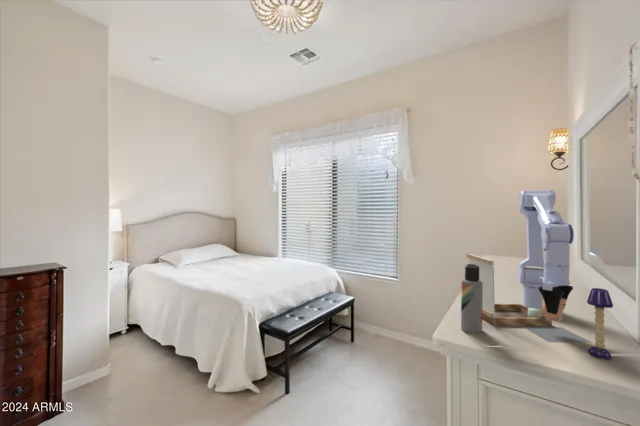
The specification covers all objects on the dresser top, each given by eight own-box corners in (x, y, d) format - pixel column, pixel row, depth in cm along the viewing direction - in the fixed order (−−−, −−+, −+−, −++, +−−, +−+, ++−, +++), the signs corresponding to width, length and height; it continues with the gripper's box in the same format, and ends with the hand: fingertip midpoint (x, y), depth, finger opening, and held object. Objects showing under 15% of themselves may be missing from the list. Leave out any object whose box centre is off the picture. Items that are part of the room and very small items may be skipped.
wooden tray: (520, 311, 102) (520, 303, 102) (551, 326, 88) (552, 318, 88) (470, 310, 102) (470, 303, 102) (494, 326, 88) (494, 318, 88)
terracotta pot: (543, 311, 87) (546, 292, 86) (565, 319, 82) (569, 299, 82) (536, 314, 84) (539, 295, 83) (559, 322, 79) (563, 302, 79)
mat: (560, 328, 87) (560, 327, 87) (592, 343, 77) (592, 342, 77) (522, 328, 87) (522, 326, 87) (548, 343, 77) (548, 341, 77)
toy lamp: (581, 350, 74) (582, 286, 73) (597, 349, 74) (598, 286, 74) (601, 360, 69) (602, 292, 69) (618, 359, 69) (619, 291, 69)
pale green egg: (535, 319, 93) (535, 307, 93) (544, 324, 90) (544, 311, 90) (524, 319, 93) (525, 307, 93) (533, 324, 90) (533, 311, 89)
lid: (469, 253, 102) (466, 253, 102) (493, 260, 88) (489, 260, 88) (470, 302, 102) (467, 303, 102) (494, 317, 88) (490, 317, 88)
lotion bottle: (479, 328, 87) (480, 263, 87) (484, 335, 82) (484, 267, 82) (459, 325, 89) (460, 262, 89) (462, 332, 84) (463, 265, 83)
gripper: (548, 260, 90) (547, 302, 90) (530, 265, 81) (529, 311, 81) (577, 264, 84) (576, 309, 84) (561, 269, 76) (560, 319, 76)
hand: (555, 311), depth 82 cm, fingers closed on terracotta pot, 5 cm apart
